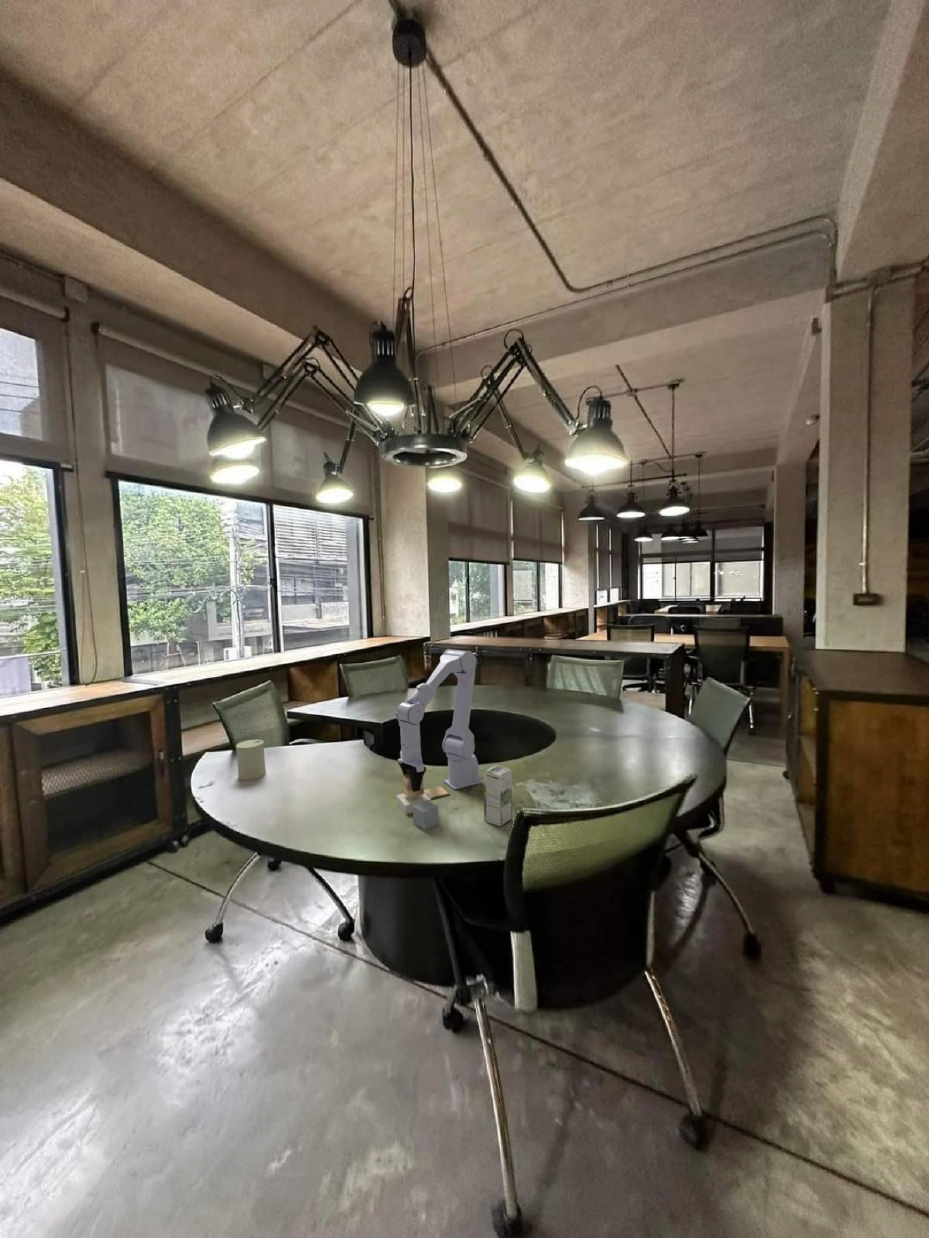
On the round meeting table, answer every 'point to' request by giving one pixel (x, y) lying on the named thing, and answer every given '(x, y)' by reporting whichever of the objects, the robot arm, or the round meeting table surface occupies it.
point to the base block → (410, 802)
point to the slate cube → (425, 815)
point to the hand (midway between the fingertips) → (412, 787)
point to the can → (250, 759)
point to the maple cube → (408, 789)
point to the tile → (436, 793)
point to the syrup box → (497, 795)
